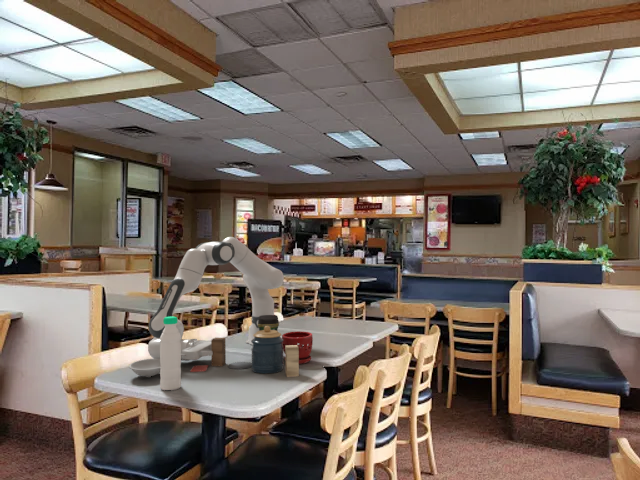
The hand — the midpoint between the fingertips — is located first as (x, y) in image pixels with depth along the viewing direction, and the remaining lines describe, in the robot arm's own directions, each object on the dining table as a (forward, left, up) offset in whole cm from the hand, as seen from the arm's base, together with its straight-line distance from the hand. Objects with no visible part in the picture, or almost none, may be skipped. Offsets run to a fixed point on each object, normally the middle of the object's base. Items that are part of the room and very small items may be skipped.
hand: (217, 350), depth 202 cm
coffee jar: (-18, +18, -6) cm, 26 cm away
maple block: (+12, +35, -6) cm, 37 cm away
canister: (+5, +23, -6) cm, 25 cm away
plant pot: (-9, +33, -6) cm, 34 cm away
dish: (+21, -19, -6) cm, 29 cm away
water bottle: (+34, -4, -6) cm, 35 cm away
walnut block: (0, +1, -6) cm, 6 cm away
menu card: (+7, -5, -7) cm, 11 cm away
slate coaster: (+1, +11, -6) cm, 12 cm away
